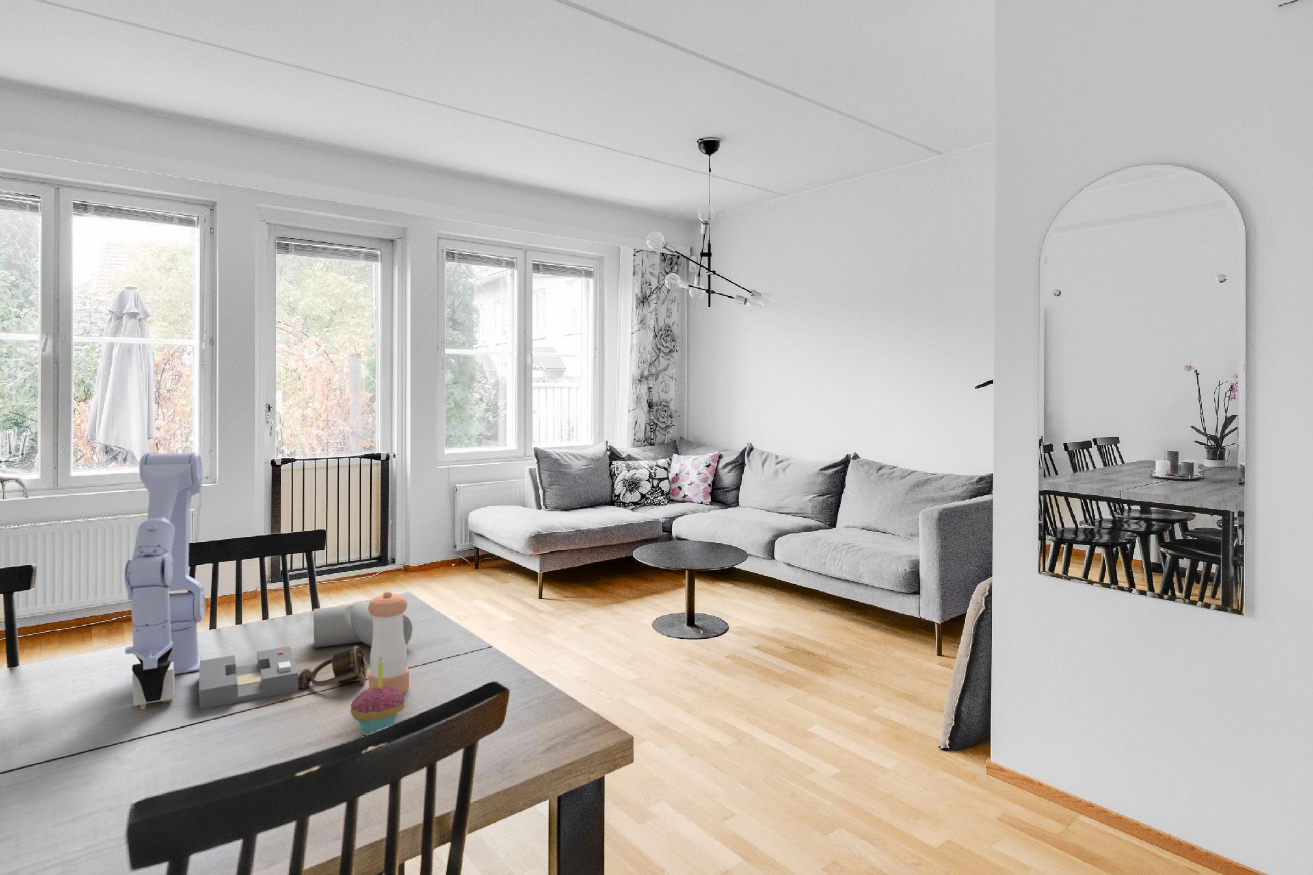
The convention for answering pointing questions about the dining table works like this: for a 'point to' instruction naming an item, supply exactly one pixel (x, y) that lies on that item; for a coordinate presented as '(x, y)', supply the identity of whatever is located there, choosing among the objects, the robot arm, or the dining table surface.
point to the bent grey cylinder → (348, 625)
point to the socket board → (247, 678)
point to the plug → (166, 692)
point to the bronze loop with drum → (339, 668)
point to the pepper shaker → (388, 642)
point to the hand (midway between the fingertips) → (154, 693)
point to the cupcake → (377, 706)
